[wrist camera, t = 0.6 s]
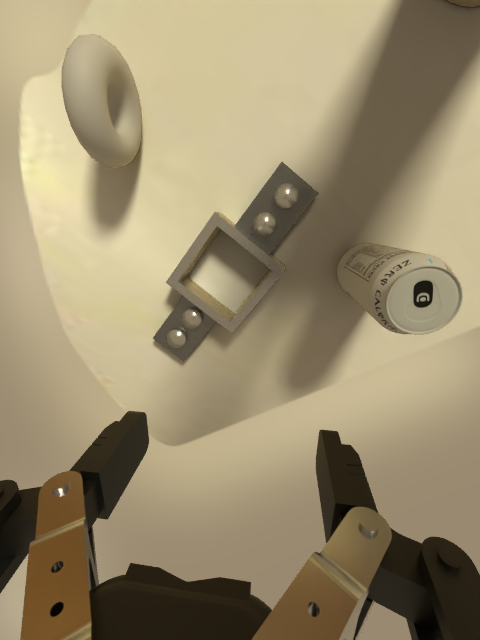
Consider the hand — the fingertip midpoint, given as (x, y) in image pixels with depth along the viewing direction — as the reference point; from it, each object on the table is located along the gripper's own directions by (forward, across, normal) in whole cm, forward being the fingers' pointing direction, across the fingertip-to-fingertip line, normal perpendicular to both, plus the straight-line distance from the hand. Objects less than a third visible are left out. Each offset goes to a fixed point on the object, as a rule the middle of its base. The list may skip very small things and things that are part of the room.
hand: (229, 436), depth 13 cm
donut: (+25, +15, -19) cm, 35 cm away
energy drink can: (+25, -12, -4) cm, 28 cm away
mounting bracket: (+25, +4, -3) cm, 25 cm away
